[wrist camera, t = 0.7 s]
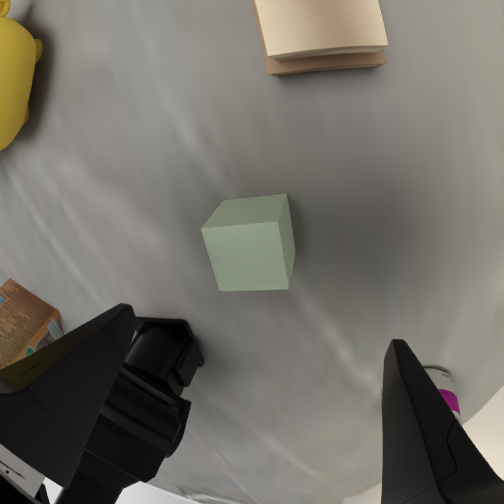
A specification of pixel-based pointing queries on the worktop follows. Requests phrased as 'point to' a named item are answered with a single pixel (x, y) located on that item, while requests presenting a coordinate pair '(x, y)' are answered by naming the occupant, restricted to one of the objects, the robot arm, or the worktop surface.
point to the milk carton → (25, 323)
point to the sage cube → (251, 243)
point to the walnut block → (318, 59)
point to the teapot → (15, 74)
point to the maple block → (320, 27)
